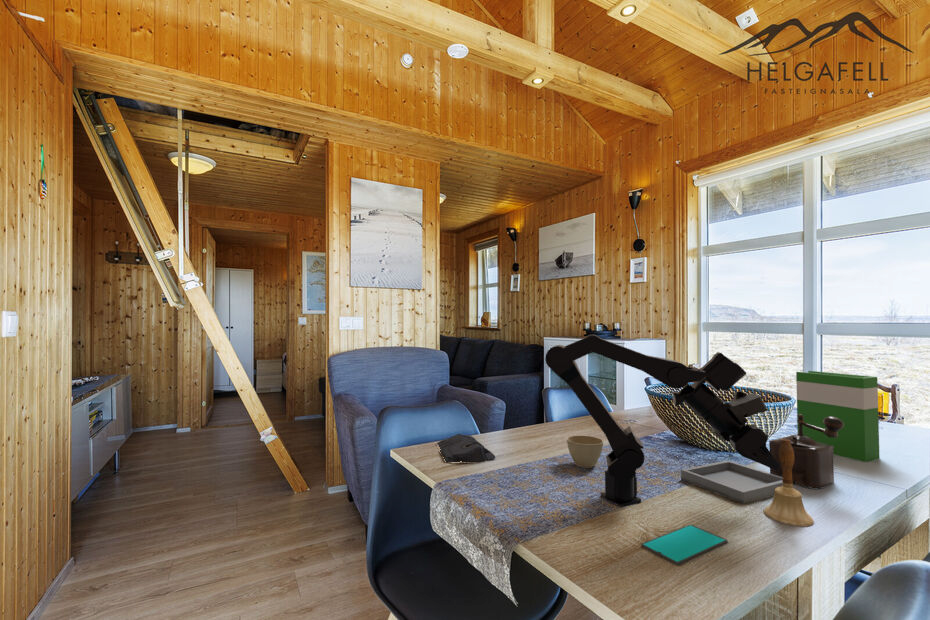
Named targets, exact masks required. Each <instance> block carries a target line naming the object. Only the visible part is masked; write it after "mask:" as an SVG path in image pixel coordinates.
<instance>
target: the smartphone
mask: <svg viewBox="0 0 930 620" xmlns="http://www.w3.org/2000/svg"><path fill="white" fill-rule="evenodd" d="M724 544H725V545H726V544H729V541H728V539H727V538H724V537H722V536H719V535H717V534H714V533H712V532H710V531H708V530H705V529H702V528H700V527H698V526H696V525H694V524H688V525H685V526H682V527H679V528H678V529H675V530H673V531H670V532H667V533H665V534H662V535H660V536H657V537H654V538H652V539H650V540H648V541H645V542H642V543H641V547H642V549H645V550H647V551H649V552H650V553H652V554H654V555H656V556H658V557H660V558H663V559H664V560H665V561H668V562H669V563H672V564H674V566H677V567H678V566H682V565H683V564H686V563H688V562H691V561H692V560H694V559H696V558H699V557H701V556H702V555H704V554H707V553H709V552H712V551H714V550H716V549H718V548H720V547H722V546H725V545H724Z"/></svg>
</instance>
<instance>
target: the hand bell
mask: <svg viewBox="0 0 930 620" xmlns="http://www.w3.org/2000/svg"><path fill="white" fill-rule="evenodd" d="M779 459H780V463H781V466H782V470H783V479H782V482H783V486H781V487H777V488H775V492H774V496H772V501H771V503H770V504H769V505H768V506H766V507H765V508H764V509H763V513H764V515H765V516H766V517H768V518H769V519H770V520H773V521H776V522H778V523H781V524H784V525H788V526H793V527H803V528H804V527H811V526H813V525H814V524H815V521H814V519H813V518H812V516H811V515H810V514H809V513H808V512H807V510H806V509H805V506H804V502H803V498H802V497H803V496H802V493H801V492H800V491H798V490H797V489H796V488H794V484H793V481H792V468H793V465H794V451H793V448H792V446H791V443H790V440H788V439H782V443H781V445H780V448H779Z"/></svg>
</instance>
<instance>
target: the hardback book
mask: <svg viewBox="0 0 930 620" xmlns="http://www.w3.org/2000/svg"><path fill="white" fill-rule="evenodd" d="M795 373H796V375H795V376H796V377H795V379H796V419H797V420H798V415H799V414H801V415H803V417H804V418H803V420H804V422H805V423H807V424H809V425H813V426H816V427H819V428H821V429H824V430H825V429H826V427H825V425H824V423H823V420H824V418H826V417H829V416H833V417H837V418H839V419H840V420H842V421H843V423H844V427H843V429H841V430H839V431H838V432H837V435H838V437H837V438H833V437H830V438H829V437H828V436H827V435H825V434H824V433H822V432H820V431H817V430H814V429H811V428H808V427H806V426H804V425H803V434H804V436H807V437H810V438H812V439H814V440H815V441H816V442H819V443H823V444H828V445H832V446H833V456H839V457H843V458H847V459H850V460H855V461H859V462H864V463H869V462H872V461H873V462H874V461H876V460H880V459H881V458H880V428H879V427H880V426H879V425H880V424H879V423H880V422H879V396H878V395H879V390H878V389H879V388H878V376H870V375H861V374H860V375H859V374H858V375H857V374H850V373H849V374H848V373H838V372H827V371H826V372H825V371H816V370H808V371H807V372H806V371H795ZM797 420H796V424H797V425H796V426H797V428H796V429H797V432H798V431H799V424H798V422H797Z"/></svg>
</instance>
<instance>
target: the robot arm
mask: <svg viewBox="0 0 930 620" xmlns="http://www.w3.org/2000/svg"><path fill="white" fill-rule="evenodd" d="M592 353H595V354H598V355H600V356H602V357H605V358H608V359H611V360H613V361H616V362H618V363H621V364H623V365H626V366H628V367H631V368H633V369H636V370H638V371H642V372H643V373H645V374H647V375H648V376H651V377H652V378H653V379H655V380H656V381H659V382H661V384H664V385H666V386H667V387H669V388H672V389H675V390H677V389H679V391H672V393H671V394H672V403H673V404H674V405H675V406H677V407H679V406H680V405H681V404H682V403H683V402H684V403H685V404H686V405H687V406H688V407H690V408H691V409H692V410H693V411H694V412H695V413H696V414H697V415H698V416H699V417H700V418H701V419H702V420H703V421H705V422H706V423H707V424H708V425H709V426H710V429H711V430H712V431H713V432H714V433H716V434H717V436H719V437H720V438H721V439H722V440H724V441H726V442H727V443H729V446H730V447H731V448H733V450H734V451H736V452H737V453H738V454H739V455H740V456H741V457H742V458H745V459H748V460H751V461H753V462H755V463H757V464H760V465H763V466H765V467H767V468H769V469H770V468H771V469H774V470H776V471H777V470H778V469H780V465H779V464H778V463H777V461H776V460H775V458H774V457H773V456H772V454H771V453H770V449H769V448H768V447H767V442H768V440H769V435H768V434H767V433H766V432H764V430H762V429H761V428H760V427H758V426H757V425H755V424H746V423H748V422H749V419H748V418H749V417H751V416H755V415H757V414H760V413H761V414H763V413H766V412H767V411H768V408H767V406H766V404H765V402H764V401H763V399H762V397H761V395H760V394H756V393H755V392H754V393H751V392H749V393H745V392H744V391H743V390H738V391H734V392H733V399H731V401H729V402H728V401H726V400H724V399H722V398H721V397H719V396H718V395H717V394H716V393H715V392H714V391H716V392H720V391H722V392H723V391H724V392H728V390H730V389H731V388H732V387H733V386H734V385H736V384H737V383H738V382H739V381H740V380H741V379H743V377H745V376H746V375H747V372H746V370H744V368H743V367H741V365H739V364H738V363H737V362H734V361H733V360H731V359H730V358H729V357H727V356H726V355H724V354H723V353H722V352H720V351H717V352H716V353H715V354H714V355H713V356H712V357H711V359H709V360H708V361H707V362H706V363H705V364H704V365H703V366H702V367H700V368H698V367H695V366H691V367H690V366H687V365H686V364H684V363H682V362H679V361H677V360H675V359H669V358H664V357H660V356H659V357H658V356H654V355H653V356H652V355H648V354H644V353H642V352H639V351H636V350H633V349H630V348H628V347H625V346H622V345H619V344H617V343H614V342H612V341H610V340H606V339H603V338H601V337H599V336H598V335H596V334H589V335H587V336H586V337H583V338H581V339H578V340H576V341H574V342H571V343H570V344H567V345H562V344H557V345H556V344H555V345H554V346H552V347H550V348H549V350H547V352H546V354H545V364H546V365H547V367H548V368H549V369H550V370H551V371H552V372H553V373H555V374H556V376H557V377H559V378H560V379H561V380H563V382H564V383H566V384H567V385H568V386H569V388H570V389H571V390H572V391H573V393H574V394H575V396H576V397H577V398H578V399H579V401H580V403H581V404H582V405H583V406H584V408H585V409H586V411H587V412H588V414H589V415H590V416H591V417H592V419H593V420H594V421H595V423H596V424H597V426H598V427H599V429H600V430H601V431H602V433H604V435H605V438H606V439H607V441H608V444H609V446H610V448H611V450H612V451H610V452H609V453H608V454H606V456H605V459H606V464H607V465H606V466H607V470H605V471H604V492H601V493H600V497H602V498H604V499H606V500H608V501H610V502H612V503H613V504H615V505H618V506H619V507H622V506H628V505H632V504H637V503H640V502H642V498H641V497H638V478H637V472H636V471H637V470H638V469H640V468H642V466H643V464H644V462H645V458H646V457H645V453H644V450H643V449H644V445H643V442H642V441H641V439H640V438H639V437H637V436H636V435H635V434H634V432H633V429H632V428H631V426H630V425H628V426H627V427H626V428H624V427H623V426H622V425H620V424H619V423H618V421H617V420H616V419H615V418H614V417H613V415H612V414H611V412H610V411H609V410H608V408H607V406H605V404H604V403H603V402H602V400H601V398H599V396H598V395H597V393H596V392H595V390H594V389H593V387H591V386H590V384H589V382H588V381H587V380H586V379H585V377H584V376H583V375H582V373H581V370H580V368H579V366H578V364H577V362H576V360H579V359H581V358H582V357H585V356H588V355H589V354H592ZM705 382H706V383H707V384H708V385H709V386H710V387H712V388H713V390H714V391H713V390H712V389H711V388H710V387H709V386H708V385H706V384H705ZM690 383H692V384H690Z"/></svg>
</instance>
